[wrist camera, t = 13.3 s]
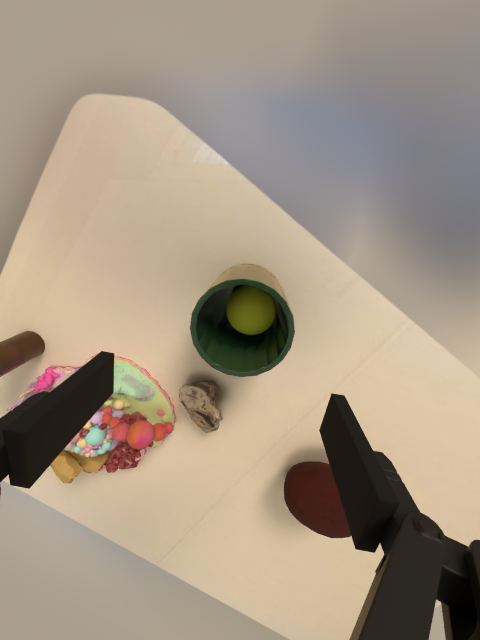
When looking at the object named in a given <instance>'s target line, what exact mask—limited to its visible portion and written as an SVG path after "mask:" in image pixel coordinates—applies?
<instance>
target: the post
mask: <svg viewBox="0 0 480 640" xmlns="http://www.w3.org/2000/svg"><path fill="white" fill-rule="evenodd" d="M44 349H45V344H44V341H43V339H42V338H41V337H40V336H39V335H38V334H36V333H34V332H31V331H26V332H23V333H21V334H18V335H16V336H14V337H11V338H9V339H7V340H4V341H2V342H0V377H1V376H3V375H5V374H6V373H8V372H10V371H12V370H13V369H15V368H17V367H19V366H20V365H22V364H24V363H26V362H28V361H29V360H31V359H33V358H35V357H36V356H38V355H40V354H42V353H43V351H44Z"/></svg>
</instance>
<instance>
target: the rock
mask: <svg viewBox="0 0 480 640" xmlns="http://www.w3.org/2000/svg"><path fill="white" fill-rule="evenodd" d="M218 395H219V391H218V385H217V384H216V383H215V382H209V381H205V382H198V383H192V384H185V385H183V387H181V388H180V395H179V397H180V402H181V403H182V404H183V405H184V406H185V409H186V410H187V411H188V413H189V414H190V417H191V419H192V420H193V421H194V422H195V423H196V424H197V425H198V426H199V427H200V428H201V429H202V430H203V431H204V432H206V433H208V432H212V431H215V430H217V429H218V427H219V421H221V420H222V416H221V412H220V411H219V410H218V409H217V408H216V405H215V400H216V398H217V396H218Z"/></svg>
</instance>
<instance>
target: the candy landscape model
mask: <svg viewBox="0 0 480 640" xmlns="http://www.w3.org/2000/svg"><path fill="white" fill-rule="evenodd" d="M95 356H96V355H95ZM95 356H93V357H91V358H90V359H88V360H87V361H86V363H87V362H89V361H90V360H91V359H92V358H94V357H95ZM86 363H85V364H86ZM83 366H84V365H83ZM78 369H80V368H72V367H66V368H61V367H57V368H56V369H54V368H52V367H49V368H47V369H46V370H45V373H44V374H43V375H41V376H39V377H37V378H38V381H36V382H34V383H31V384H30V385H29V386H28V387H30V388H31V389H30V388H28V389H29V390H28V389H26V390H28V391H26V392H24V393H23V394H21V395H20V396H19V398H21V397H23V396H24V397H23V398H22V399H21V400H20V401H18V402H17V403H15V404H13V405H11V406H9V407H8V410H10V409H12V408H13V407H15V406H16V407H17V406H18V405H20V404H21V403H22V402H23V401H25V400H26V399H27V398H29V397H30V396H32V395H34V394H37V393H39V392H41V391H47V392H51V391H52V390H53V389H54V388H56V387H57V386H58V385H59V384H61V383H62V382H63V381H65V380H66V379H67V378H68V377H70V376H71V375H72V374H73V373H75V372H76V371H77V370H78ZM37 378H36V379H37ZM31 386H32V387H33V386H34V387H33V388H32V387H31ZM8 410H7V411H8ZM173 410H174V406H173V405H172V404H171V402H170V399H169V397H168V396H167V394H166V393H165V391H164V390H162V389H161V388H160V385H159V384H158V382H157V381H156V380H154V379H153V378H152V377H151V376H150V374H149V373H148V372H147V370H145V369H142V368H140V367H138V365H136V364H134V363H133V362H132V361H131V360H128V359H125V358H121V357H117V356H114V393H113V394H112V395H111V396H110V397H109V398H108V400H107V401H106V402H105V403H104V404H103V405H102V406H101V408H100V409H99V410H98V411H97V412H96V413H95V414H94V415H93V417H92V418H91V419H90V420H89V421H88V422H87V423H86V425H85V426H84V427H83V428H82V429H81V430H80V431H79V433H78V434H77V435H76V436H75V437H74V438H73V439H72V441H71V442H70V443H69V444H68V445H67V446H66V447H65V449H64V450H63V451H62V452H61V453H60V454H59V455H58V456H57V458H56V459H55V460H54V461H53V462H52V463H51V464H50V466H51V467H52V468H53V470H54V472H55V474H56V475H57V477H58V478H59V479H60V480H61V481H62V482H63V483H71V482H72V481H73V479H74V478H75V477H76V476H77V475H78V474H79V473H80V472H81V471H82V470H83V471H85V472H88V473H91V472H98V471H101V470H103V469H104V468H106V470H107V472H108V473H109V472H115V471H116V470H117V469H118V466H119V469H129V468H134V467H137V464H138V462H139V460H140V459H142V458H143V456H144V454H145V449H150V448H151V447H154V448H155V447H157V445H158V444H159V443H161V442H163V441H164V438H165V437H166V436H167V435H168V434H170V433H171V432H172V431H173V428H174V421H175V414H174V412H173ZM78 461H79V462H78ZM116 464H117V465H118V466H117V465H116Z"/></svg>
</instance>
